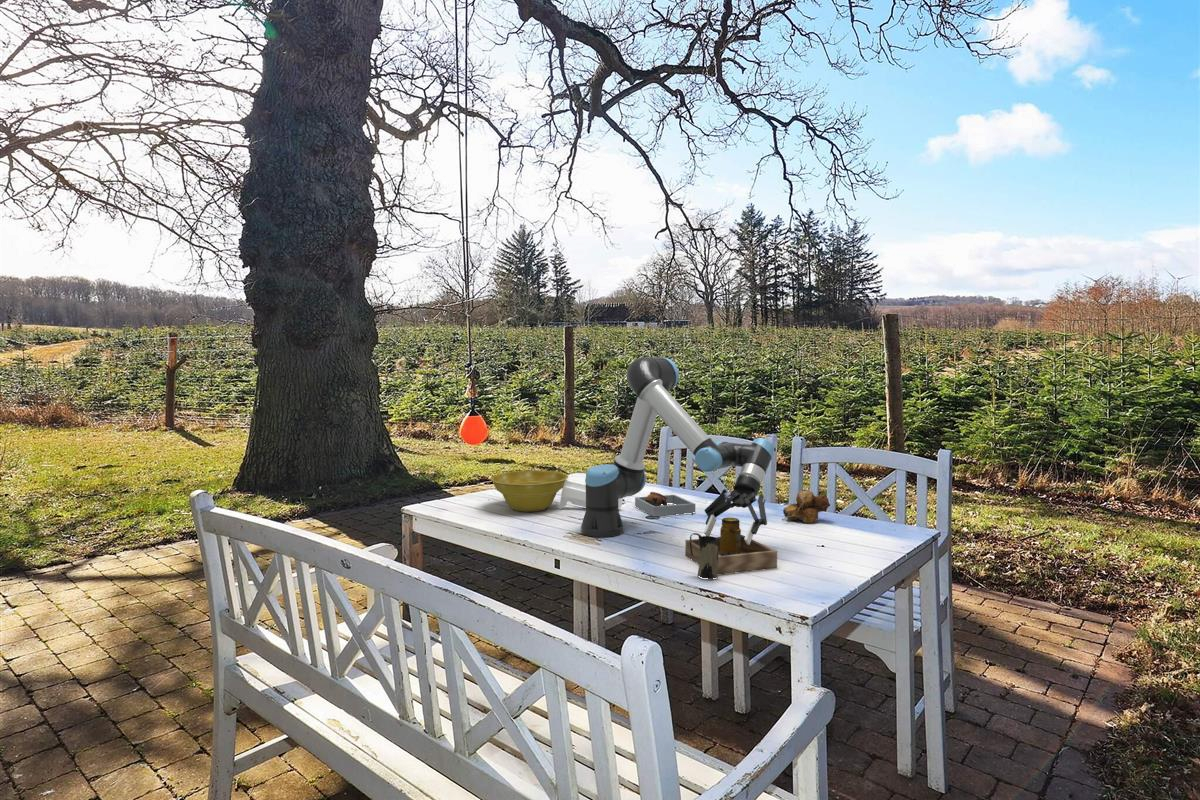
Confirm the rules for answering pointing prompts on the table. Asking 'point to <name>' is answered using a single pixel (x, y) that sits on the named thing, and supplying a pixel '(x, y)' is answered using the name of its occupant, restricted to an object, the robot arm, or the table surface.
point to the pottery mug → (656, 499)
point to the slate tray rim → (679, 508)
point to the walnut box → (739, 557)
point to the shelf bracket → (576, 494)
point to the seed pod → (806, 507)
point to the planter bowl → (529, 488)
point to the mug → (707, 556)
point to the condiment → (730, 537)
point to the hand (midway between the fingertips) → (726, 538)
